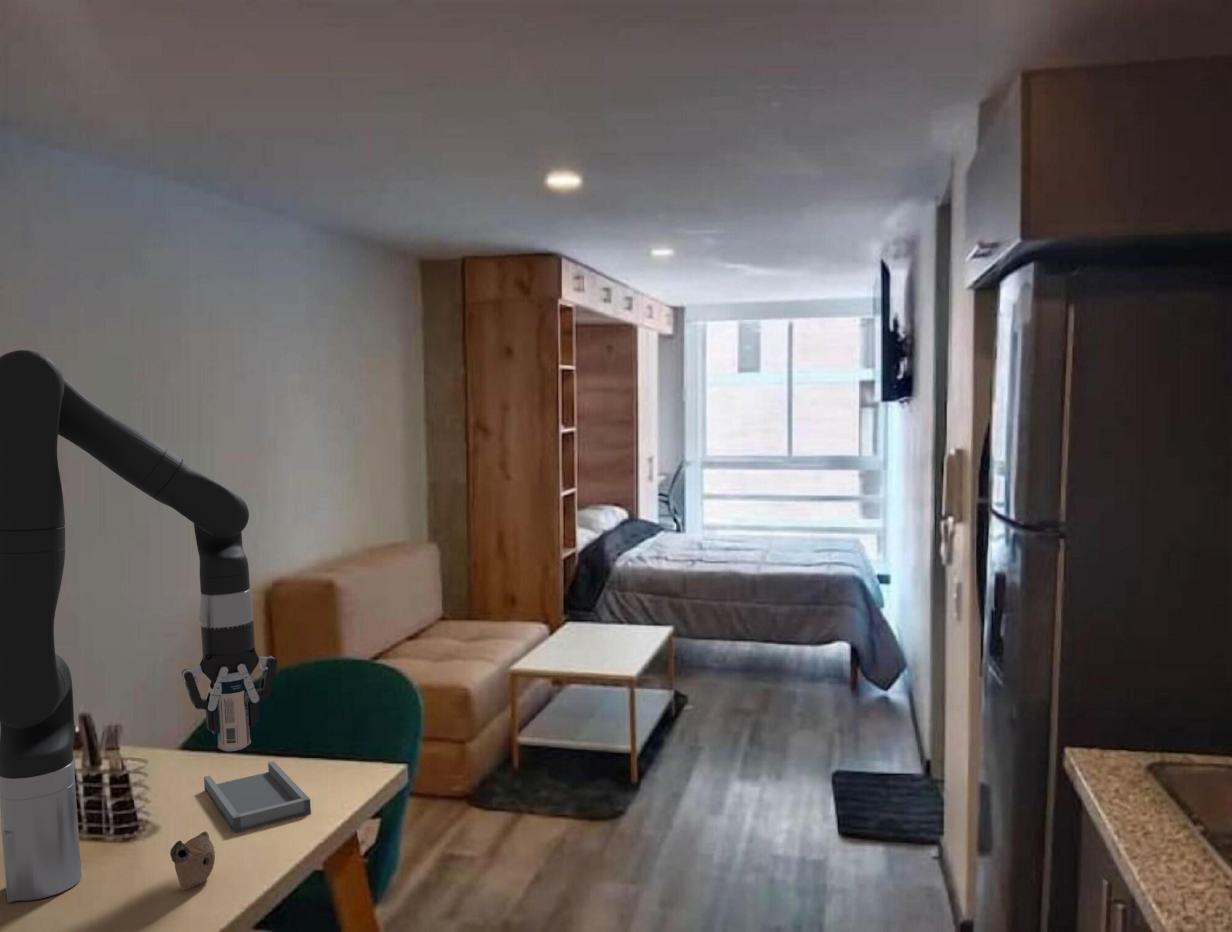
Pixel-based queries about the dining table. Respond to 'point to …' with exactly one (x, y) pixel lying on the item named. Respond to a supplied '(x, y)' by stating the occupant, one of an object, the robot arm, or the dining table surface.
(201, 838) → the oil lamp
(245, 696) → the beer can
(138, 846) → the dining table surface
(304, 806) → the tray
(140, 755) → the dining table surface
